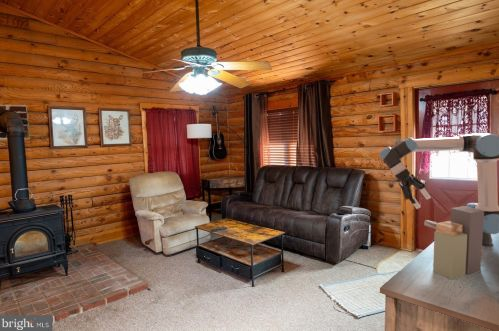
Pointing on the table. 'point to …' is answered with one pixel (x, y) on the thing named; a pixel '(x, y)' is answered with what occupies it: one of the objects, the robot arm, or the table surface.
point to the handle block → (445, 227)
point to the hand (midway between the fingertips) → (424, 203)
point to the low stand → (450, 255)
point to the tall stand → (471, 234)
